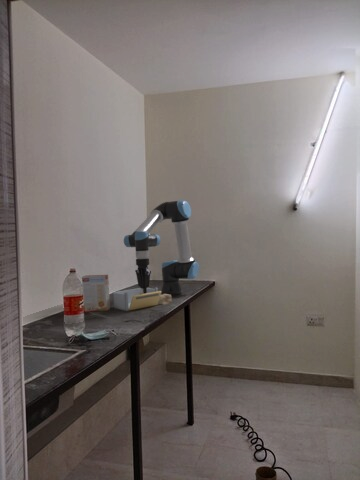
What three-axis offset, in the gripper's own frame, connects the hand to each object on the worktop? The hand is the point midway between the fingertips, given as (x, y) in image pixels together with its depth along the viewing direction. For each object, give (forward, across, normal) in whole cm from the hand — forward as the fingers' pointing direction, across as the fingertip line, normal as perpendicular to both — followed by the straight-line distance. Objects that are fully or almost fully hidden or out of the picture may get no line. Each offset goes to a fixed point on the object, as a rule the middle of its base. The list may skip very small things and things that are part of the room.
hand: (144, 299), depth 223 cm
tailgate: (+5, -2, 0) cm, 5 cm away
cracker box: (+7, -19, -20) cm, 29 cm away
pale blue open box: (+6, -9, 0) cm, 11 cm away
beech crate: (+6, -2, +16) cm, 17 cm away
